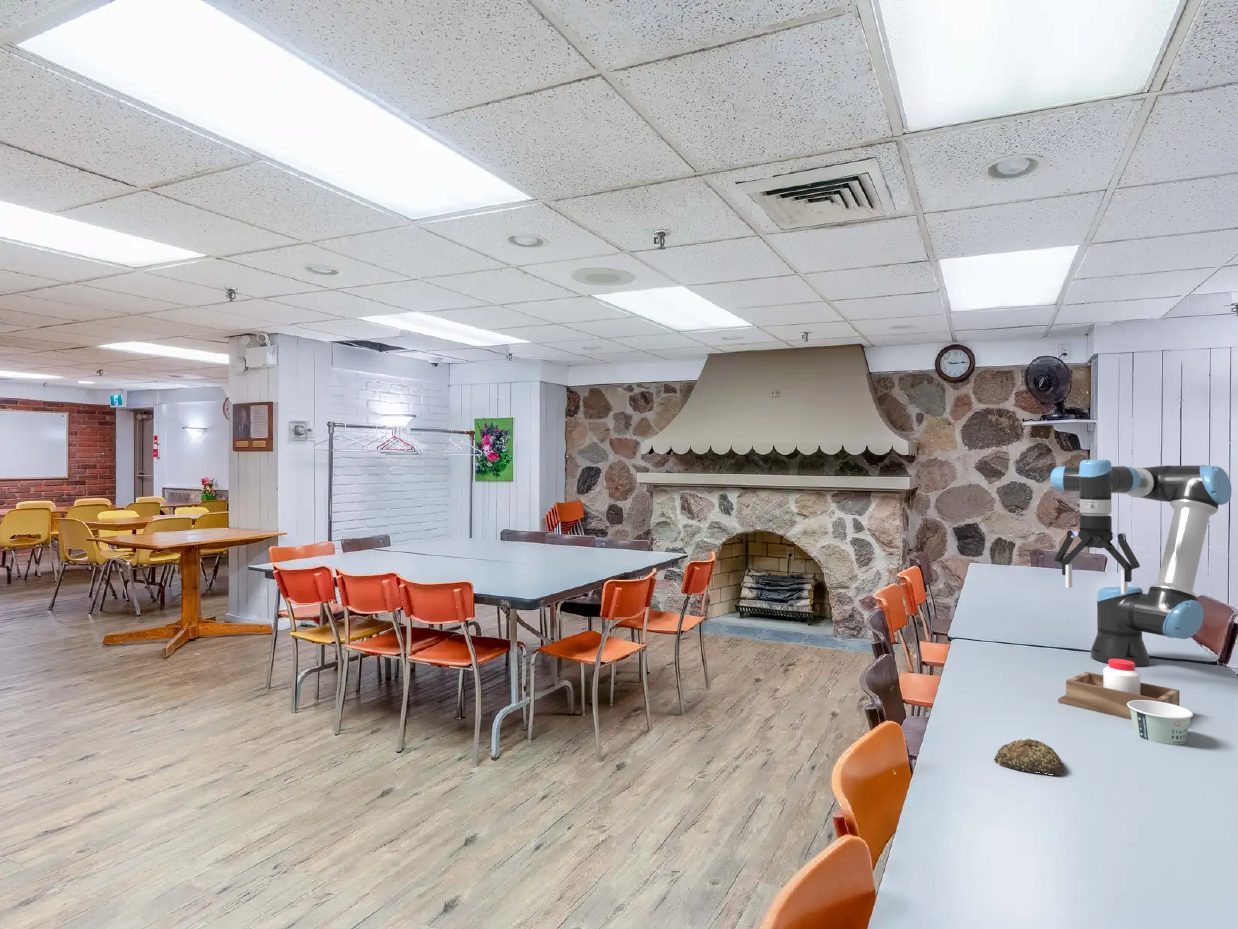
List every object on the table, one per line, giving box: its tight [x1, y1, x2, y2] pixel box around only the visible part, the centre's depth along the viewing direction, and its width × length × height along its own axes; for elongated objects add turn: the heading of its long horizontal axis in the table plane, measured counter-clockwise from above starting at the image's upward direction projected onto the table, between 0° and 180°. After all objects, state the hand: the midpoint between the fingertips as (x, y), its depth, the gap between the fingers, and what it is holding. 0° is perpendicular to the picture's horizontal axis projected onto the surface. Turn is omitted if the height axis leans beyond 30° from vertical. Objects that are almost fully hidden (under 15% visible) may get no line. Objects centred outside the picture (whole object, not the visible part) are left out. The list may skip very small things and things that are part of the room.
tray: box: [1057, 671, 1180, 721], centre depth 182 cm, size 14×24×6 cm, turn 38°
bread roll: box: [993, 738, 1065, 776], centre depth 149 cm, size 13×12×5 cm
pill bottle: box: [1102, 659, 1141, 695], centre depth 182 cm, size 8×8×11 cm
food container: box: [1127, 700, 1194, 746], centre depth 163 cm, size 12×12×6 cm
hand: (1095, 590), depth 202 cm, fingers open, 13 cm apart
